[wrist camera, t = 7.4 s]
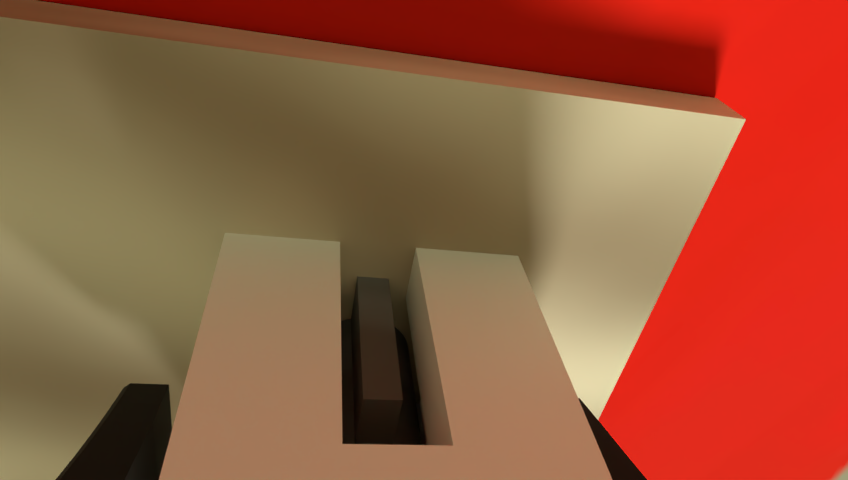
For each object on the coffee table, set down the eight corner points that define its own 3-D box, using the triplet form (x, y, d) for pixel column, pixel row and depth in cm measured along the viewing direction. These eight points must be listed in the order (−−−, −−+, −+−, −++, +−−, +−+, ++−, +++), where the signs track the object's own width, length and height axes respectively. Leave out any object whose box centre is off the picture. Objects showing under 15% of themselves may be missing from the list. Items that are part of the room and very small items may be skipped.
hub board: (505, 562, 20) (543, 729, 16) (-310, 580, 16) (-509, 813, 12) (716, 98, 12) (897, 229, 8) (-946, -141, 7) (-2300, -102, 3)
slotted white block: (459, 439, 15) (509, 685, 10) (224, 435, 14) (176, 707, 9) (518, 255, 12) (619, 494, 8) (225, 232, 11) (154, 495, 7)
